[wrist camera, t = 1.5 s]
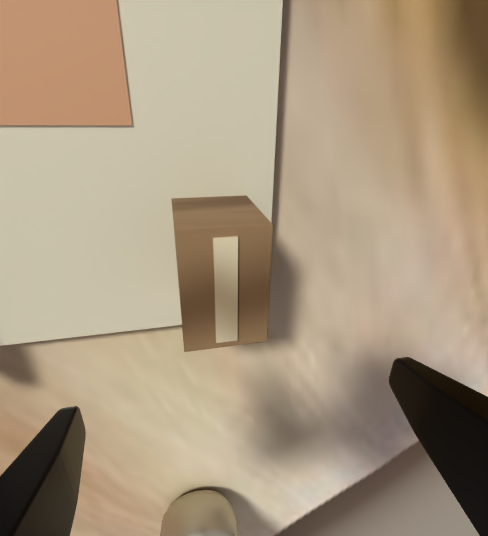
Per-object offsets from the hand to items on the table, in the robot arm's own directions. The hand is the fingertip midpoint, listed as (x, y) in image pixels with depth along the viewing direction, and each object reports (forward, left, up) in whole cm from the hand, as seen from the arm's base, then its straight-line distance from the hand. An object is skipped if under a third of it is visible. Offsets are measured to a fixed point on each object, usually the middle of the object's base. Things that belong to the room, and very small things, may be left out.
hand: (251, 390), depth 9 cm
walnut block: (0, 0, -11) cm, 11 cm away
